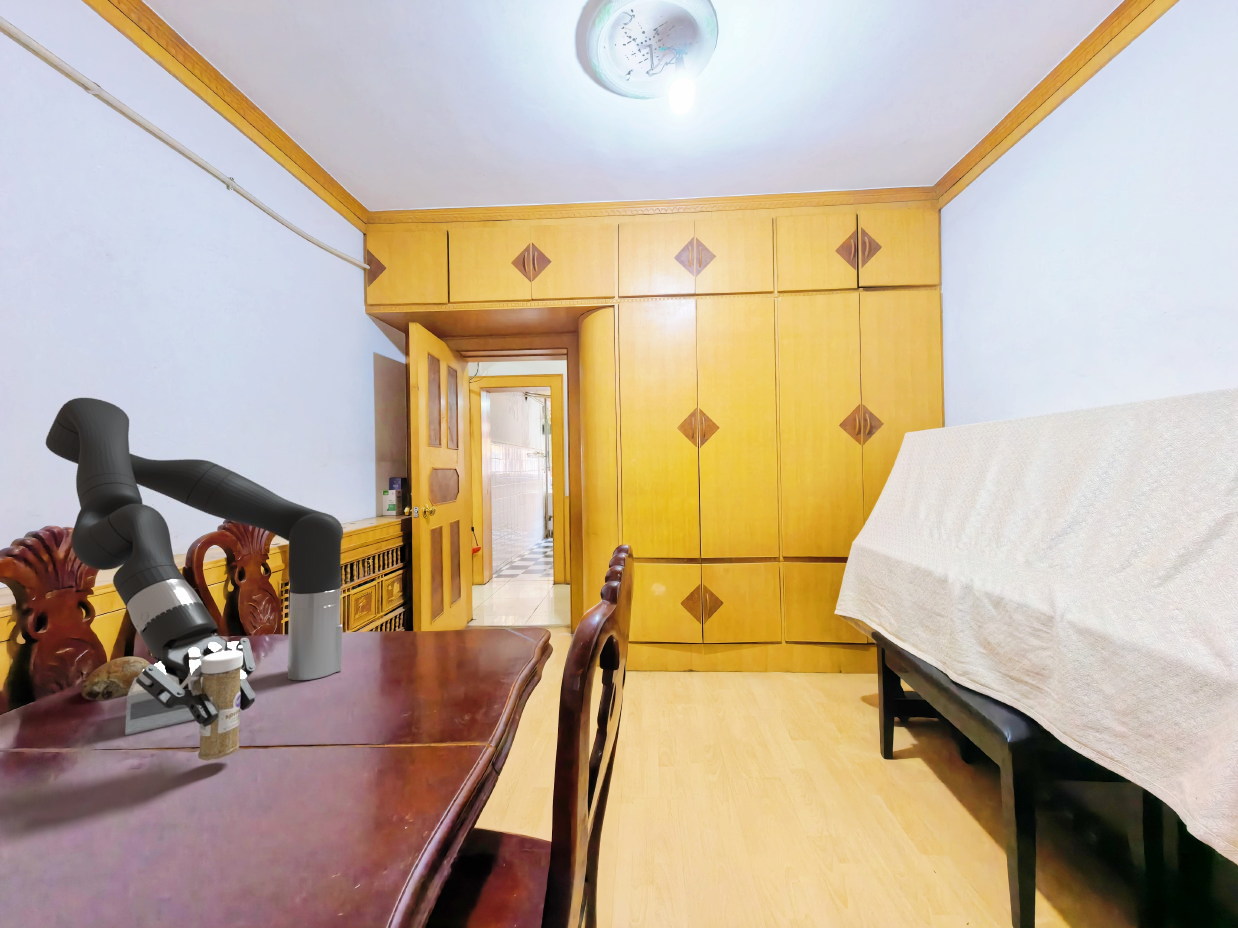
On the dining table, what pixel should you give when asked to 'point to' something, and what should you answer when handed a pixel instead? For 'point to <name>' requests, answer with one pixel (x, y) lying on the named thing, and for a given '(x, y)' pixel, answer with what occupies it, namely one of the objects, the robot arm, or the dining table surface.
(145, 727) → the box
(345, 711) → the dining table surface
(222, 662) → the sprinkles bottle
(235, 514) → the robot arm
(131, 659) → the bread roll
